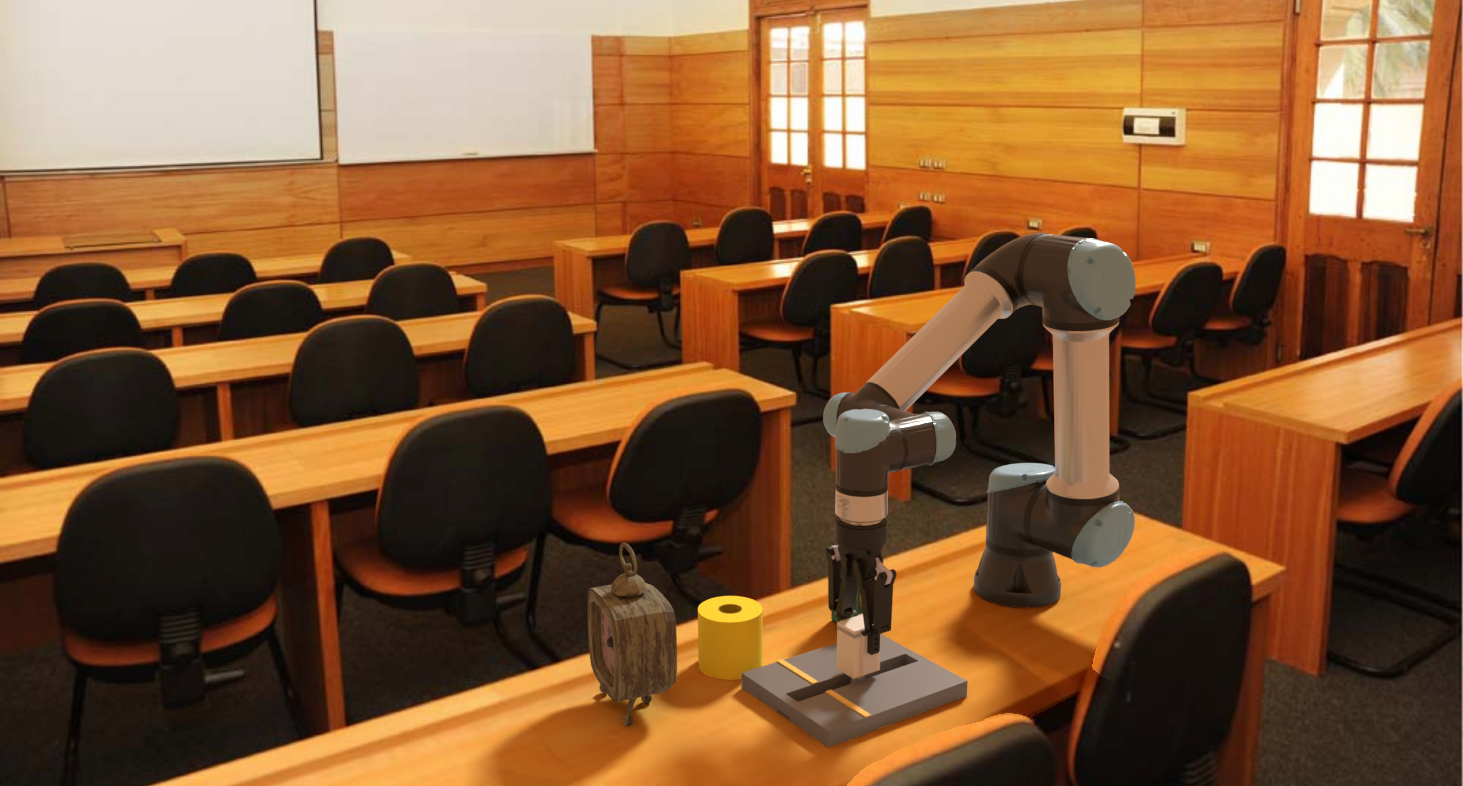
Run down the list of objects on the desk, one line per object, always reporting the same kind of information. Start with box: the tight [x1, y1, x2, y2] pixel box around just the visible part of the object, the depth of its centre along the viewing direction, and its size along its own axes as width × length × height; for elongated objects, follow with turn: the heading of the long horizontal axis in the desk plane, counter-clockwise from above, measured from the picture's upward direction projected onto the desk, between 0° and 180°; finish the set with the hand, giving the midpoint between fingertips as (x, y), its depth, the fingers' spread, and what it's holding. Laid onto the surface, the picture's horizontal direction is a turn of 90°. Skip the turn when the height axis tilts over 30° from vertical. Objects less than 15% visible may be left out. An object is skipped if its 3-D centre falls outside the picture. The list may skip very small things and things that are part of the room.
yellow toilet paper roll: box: [697, 595, 764, 681], centre depth 197 cm, size 10×10×9 cm
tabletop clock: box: [586, 542, 678, 727], centre depth 182 cm, size 14×9×25 cm, turn 23°
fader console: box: [741, 633, 969, 749], centre depth 188 cm, size 26×21×3 cm
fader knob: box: [836, 614, 881, 684], centre depth 188 cm, size 5×4×10 cm
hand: (858, 665), depth 188 cm, fingers closed on fader knob, 4 cm apart
